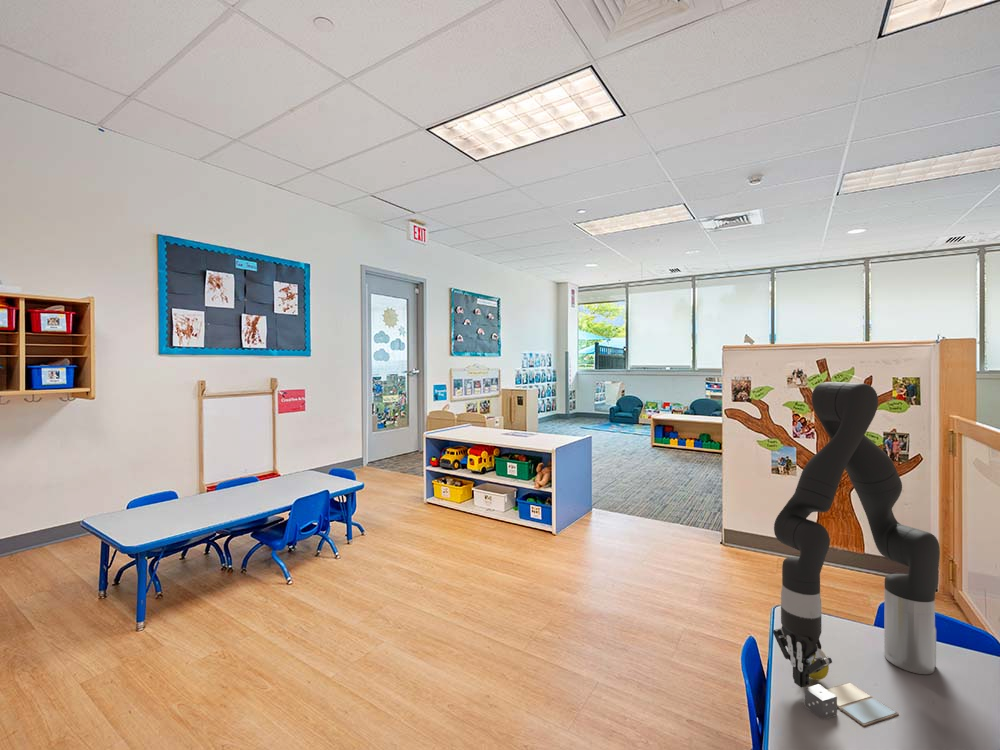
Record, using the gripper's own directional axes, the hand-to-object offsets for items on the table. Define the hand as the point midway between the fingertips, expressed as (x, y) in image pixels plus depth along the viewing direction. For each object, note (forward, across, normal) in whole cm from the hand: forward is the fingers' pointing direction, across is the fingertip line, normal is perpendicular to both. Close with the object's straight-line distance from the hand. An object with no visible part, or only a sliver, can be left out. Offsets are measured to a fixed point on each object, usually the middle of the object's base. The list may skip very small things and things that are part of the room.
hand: (800, 684), depth 102 cm
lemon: (+3, +3, -8) cm, 8 cm away
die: (+2, -5, 0) cm, 5 cm away
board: (+2, -6, -9) cm, 11 cm away
